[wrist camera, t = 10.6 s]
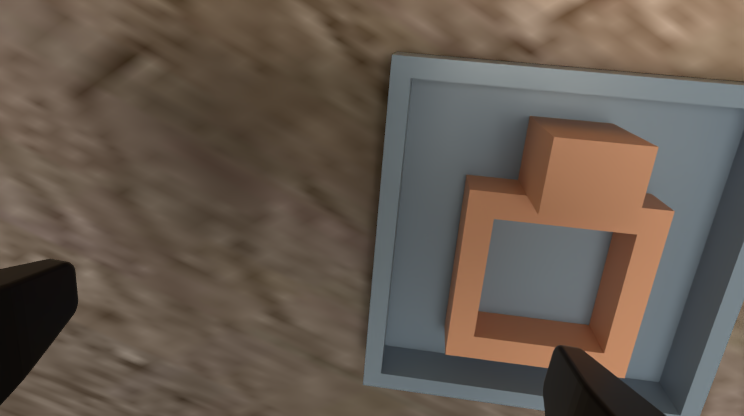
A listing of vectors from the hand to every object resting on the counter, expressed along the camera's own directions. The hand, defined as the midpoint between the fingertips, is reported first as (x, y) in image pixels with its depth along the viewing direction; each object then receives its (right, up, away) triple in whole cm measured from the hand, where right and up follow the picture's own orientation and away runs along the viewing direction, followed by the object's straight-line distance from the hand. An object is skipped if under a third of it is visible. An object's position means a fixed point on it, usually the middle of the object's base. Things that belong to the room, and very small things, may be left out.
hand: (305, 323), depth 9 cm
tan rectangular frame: (+8, +1, +11) cm, 14 cm away
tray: (+8, +1, +11) cm, 14 cm away
